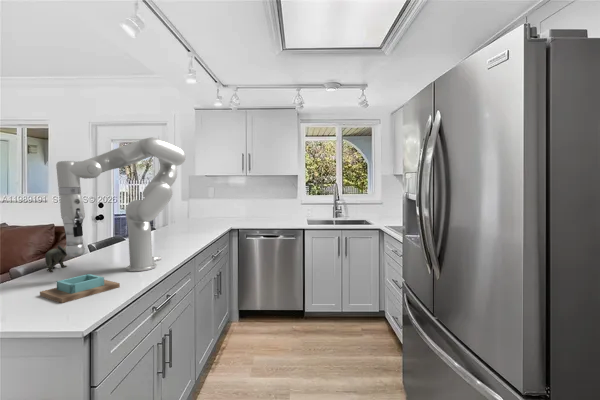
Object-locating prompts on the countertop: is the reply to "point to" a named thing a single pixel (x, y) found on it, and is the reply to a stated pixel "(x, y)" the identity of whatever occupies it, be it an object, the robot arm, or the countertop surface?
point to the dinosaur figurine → (55, 258)
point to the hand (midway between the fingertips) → (74, 235)
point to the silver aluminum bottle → (72, 239)
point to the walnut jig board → (78, 288)
